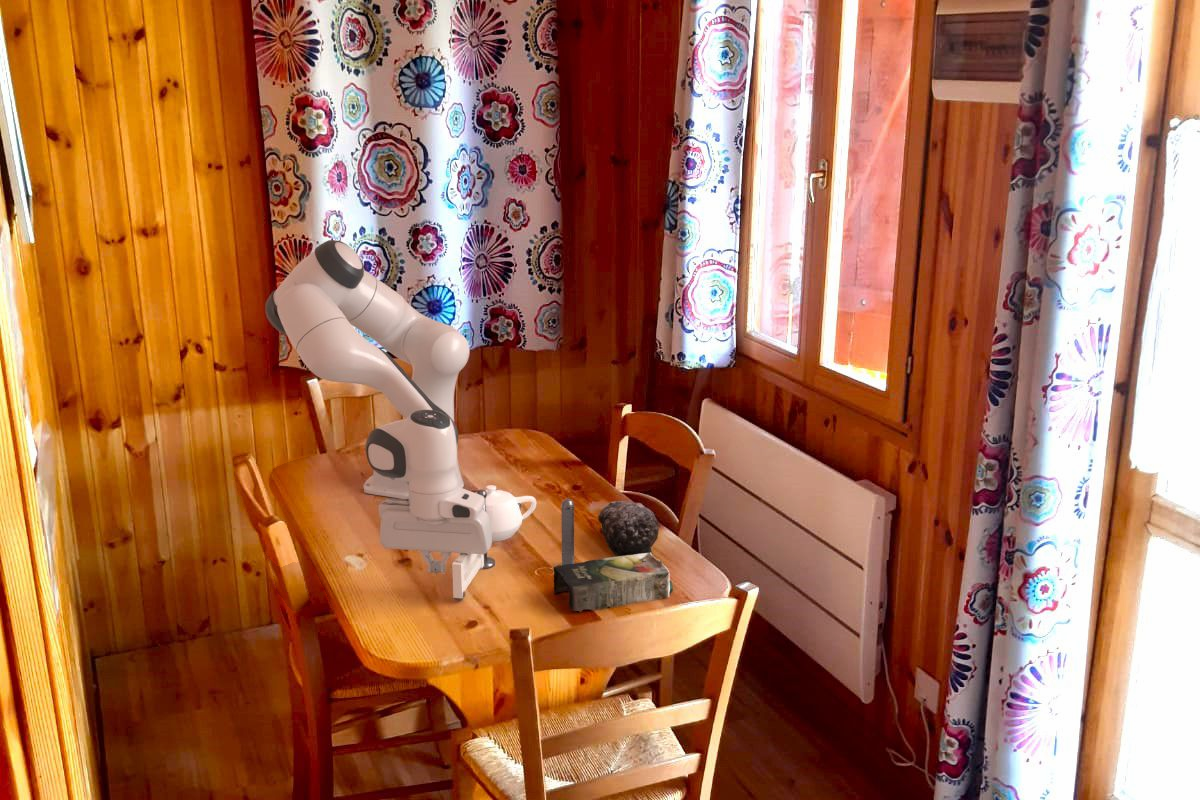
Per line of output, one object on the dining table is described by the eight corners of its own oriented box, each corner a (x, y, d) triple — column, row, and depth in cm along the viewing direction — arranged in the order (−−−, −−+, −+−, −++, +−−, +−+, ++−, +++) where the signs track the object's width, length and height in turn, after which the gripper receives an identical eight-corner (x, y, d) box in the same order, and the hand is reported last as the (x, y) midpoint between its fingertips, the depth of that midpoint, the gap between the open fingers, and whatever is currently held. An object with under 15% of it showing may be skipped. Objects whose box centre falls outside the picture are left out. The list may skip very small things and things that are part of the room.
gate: (475, 567, 207) (473, 532, 205) (485, 568, 206) (484, 533, 204) (452, 601, 193) (451, 563, 191) (463, 602, 193) (462, 564, 191)
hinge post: (469, 568, 207) (466, 493, 203) (475, 558, 211) (473, 484, 207) (491, 570, 206) (489, 494, 202) (497, 560, 211) (495, 486, 206)
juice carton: (653, 575, 205) (654, 545, 203) (676, 598, 196) (676, 567, 194) (552, 594, 198) (552, 563, 196) (571, 618, 189) (570, 586, 187)
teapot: (447, 551, 215) (446, 503, 212) (435, 528, 226) (433, 482, 223) (545, 538, 221) (544, 491, 218) (528, 516, 232) (527, 471, 230)
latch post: (560, 567, 208) (560, 500, 204) (563, 562, 210) (562, 496, 206) (573, 568, 207) (572, 501, 203) (575, 563, 209) (575, 497, 206)
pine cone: (627, 525, 228) (627, 480, 225) (668, 558, 212) (669, 510, 209) (581, 533, 223) (581, 488, 221) (620, 567, 208) (620, 518, 205)
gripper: (372, 503, 193) (376, 575, 197) (484, 510, 190) (486, 583, 194) (384, 491, 199) (387, 560, 203) (493, 497, 196) (495, 568, 200)
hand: (437, 571), depth 198 cm, fingers closed
